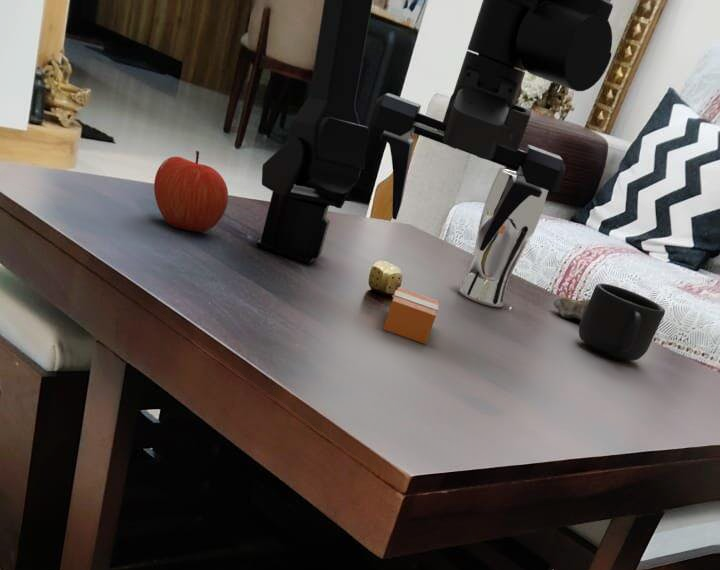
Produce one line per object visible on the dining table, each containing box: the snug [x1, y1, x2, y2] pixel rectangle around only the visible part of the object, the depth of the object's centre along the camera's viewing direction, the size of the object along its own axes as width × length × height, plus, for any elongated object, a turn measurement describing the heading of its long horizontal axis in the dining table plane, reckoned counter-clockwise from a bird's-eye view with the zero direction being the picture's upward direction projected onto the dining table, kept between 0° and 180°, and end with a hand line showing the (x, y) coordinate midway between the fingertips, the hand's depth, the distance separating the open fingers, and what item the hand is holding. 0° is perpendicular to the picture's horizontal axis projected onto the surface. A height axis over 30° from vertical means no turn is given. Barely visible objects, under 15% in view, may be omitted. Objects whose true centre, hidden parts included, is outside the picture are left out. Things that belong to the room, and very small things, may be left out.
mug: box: [578, 283, 666, 362], centre depth 121 cm, size 12×9×7 cm
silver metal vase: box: [458, 167, 549, 309], centre depth 124 cm, size 7×7×15 cm
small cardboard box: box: [383, 286, 439, 345], centre depth 103 cm, size 5×7×3 cm
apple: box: [153, 150, 229, 233], centre depth 108 cm, size 8×8×8 cm
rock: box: [553, 296, 590, 321], centre depth 135 cm, size 9×6×10 cm
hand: (438, 234), depth 99 cm, fingers open, 9 cm apart
